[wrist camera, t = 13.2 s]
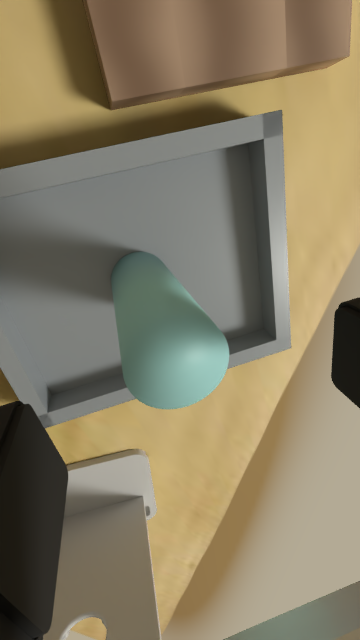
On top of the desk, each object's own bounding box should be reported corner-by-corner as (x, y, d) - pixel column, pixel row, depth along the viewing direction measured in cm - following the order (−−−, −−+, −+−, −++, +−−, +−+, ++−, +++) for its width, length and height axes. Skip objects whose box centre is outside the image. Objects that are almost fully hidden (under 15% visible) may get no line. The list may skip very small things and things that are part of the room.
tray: (256, 120, 19) (282, 109, 17) (271, 331, 26) (291, 348, 24) (-71, 190, 17) (-104, 191, 14) (44, 403, 24) (37, 430, 21)
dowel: (161, 244, 20) (221, 300, 10) (174, 298, 22) (235, 389, 12) (102, 260, 19) (107, 334, 10) (120, 314, 21) (139, 422, 11)
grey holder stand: (-16, 560, 29) (-155, 1006, 13) (-59, 493, 25) (-337, 1034, 9) (156, 510, 33) (211, 822, 17) (146, 444, 28) (204, 778, 12)
